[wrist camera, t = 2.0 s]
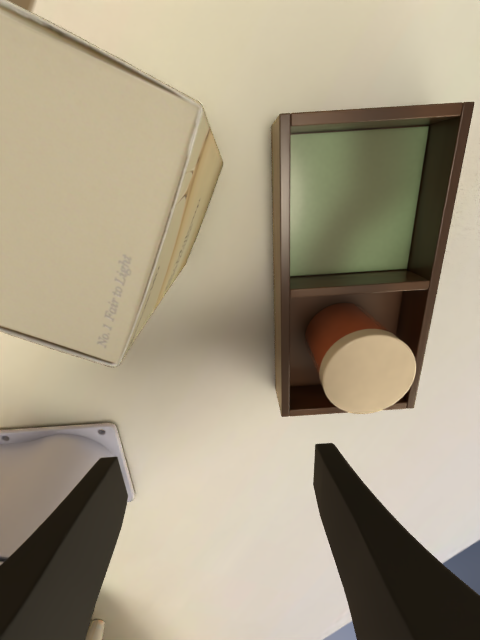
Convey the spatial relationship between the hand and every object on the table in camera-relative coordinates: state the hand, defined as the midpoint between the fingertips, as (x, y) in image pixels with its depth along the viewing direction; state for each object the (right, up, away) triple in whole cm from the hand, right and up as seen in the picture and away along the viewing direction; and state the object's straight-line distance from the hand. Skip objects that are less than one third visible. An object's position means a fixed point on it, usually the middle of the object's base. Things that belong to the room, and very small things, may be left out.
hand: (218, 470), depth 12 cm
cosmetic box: (-3, +12, +6) cm, 14 cm away
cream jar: (+7, +4, +9) cm, 12 cm away
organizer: (+7, +8, +8) cm, 13 cm away
